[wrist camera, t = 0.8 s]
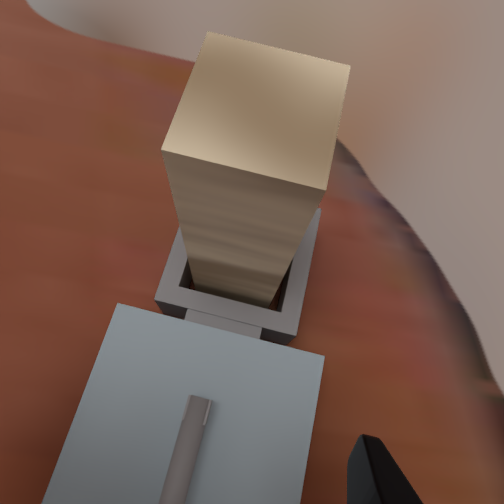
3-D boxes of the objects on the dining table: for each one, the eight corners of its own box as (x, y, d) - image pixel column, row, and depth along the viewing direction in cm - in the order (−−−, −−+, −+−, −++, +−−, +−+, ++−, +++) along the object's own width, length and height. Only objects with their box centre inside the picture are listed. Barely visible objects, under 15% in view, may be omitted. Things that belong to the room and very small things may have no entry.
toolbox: (247, 681, 18) (259, 815, 12) (30, 620, 18) (-61, 724, 12) (329, 237, 26) (359, 191, 20) (179, 200, 26) (167, 143, 21)
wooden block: (265, 312, 24) (325, 190, 10) (196, 295, 24) (161, 149, 10) (280, 248, 26) (350, 65, 12) (215, 232, 26) (208, 31, 12)
